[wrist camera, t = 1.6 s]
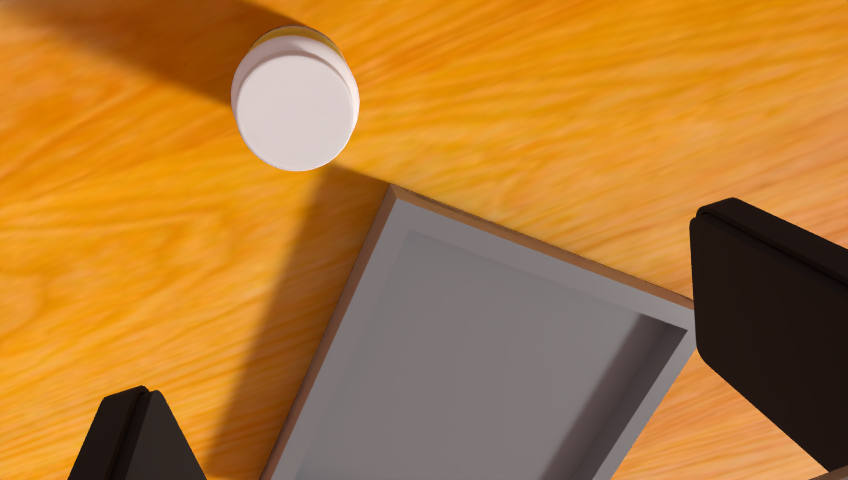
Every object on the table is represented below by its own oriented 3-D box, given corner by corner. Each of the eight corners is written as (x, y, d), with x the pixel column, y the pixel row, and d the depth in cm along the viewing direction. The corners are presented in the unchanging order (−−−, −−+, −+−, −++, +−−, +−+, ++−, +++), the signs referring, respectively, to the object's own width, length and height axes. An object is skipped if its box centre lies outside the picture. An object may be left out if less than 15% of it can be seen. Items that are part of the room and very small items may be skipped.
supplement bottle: (224, 50, 27) (194, 76, 20) (321, 6, 27) (328, 15, 20) (275, 146, 29) (265, 203, 22) (365, 105, 29) (387, 148, 22)
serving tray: (390, 183, 31) (397, 198, 29) (690, 298, 37) (715, 318, 35) (257, 483, 37) (254, 515, 34) (538, 540, 43) (551, 570, 41)
